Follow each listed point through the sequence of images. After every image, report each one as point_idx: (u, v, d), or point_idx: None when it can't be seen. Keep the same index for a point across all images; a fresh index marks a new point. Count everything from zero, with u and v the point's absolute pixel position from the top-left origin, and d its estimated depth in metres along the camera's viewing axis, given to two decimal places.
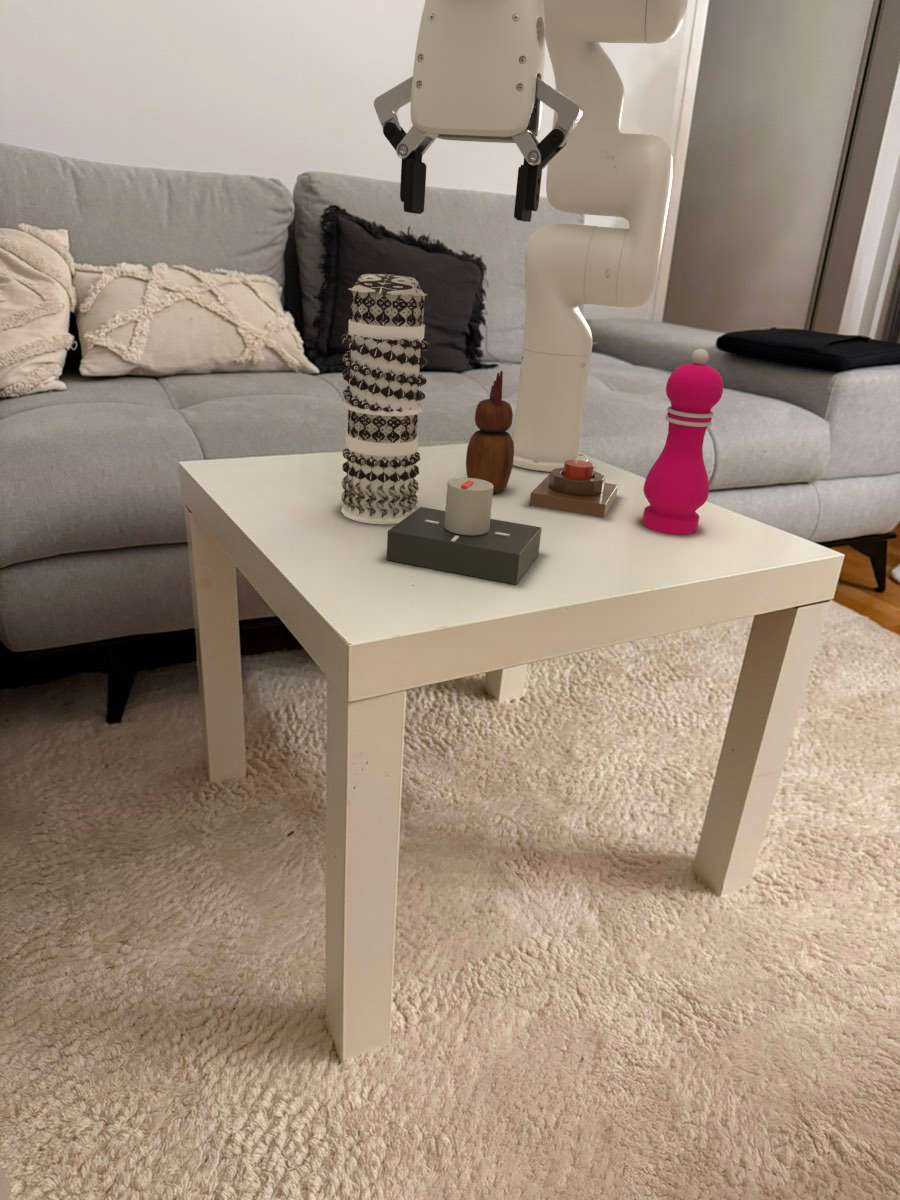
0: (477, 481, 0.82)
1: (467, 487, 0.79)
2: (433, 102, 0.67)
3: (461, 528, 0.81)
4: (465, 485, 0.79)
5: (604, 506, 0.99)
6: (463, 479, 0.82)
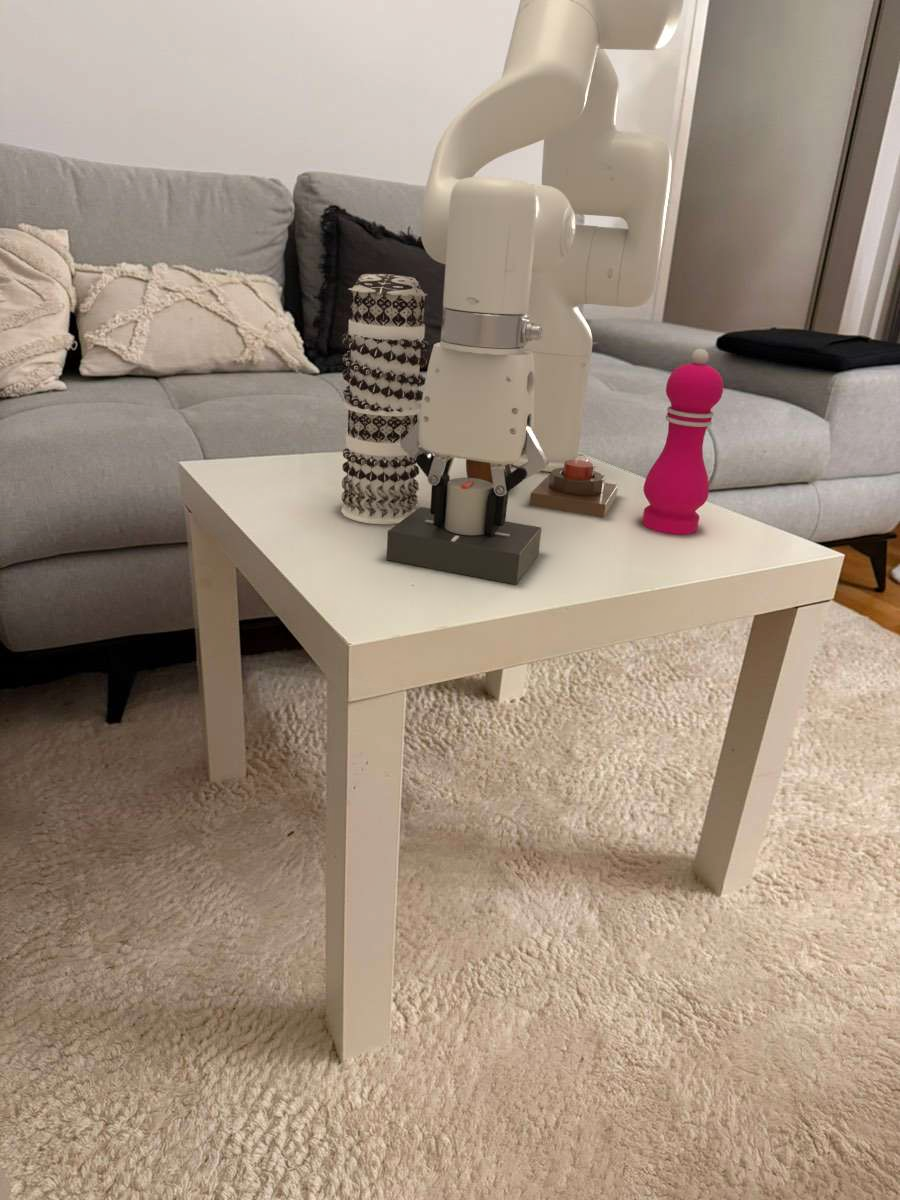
0: (477, 481, 0.82)
1: (467, 487, 0.79)
2: (438, 434, 0.78)
3: (461, 528, 0.81)
4: (465, 485, 0.79)
5: (604, 506, 0.99)
6: (463, 479, 0.82)
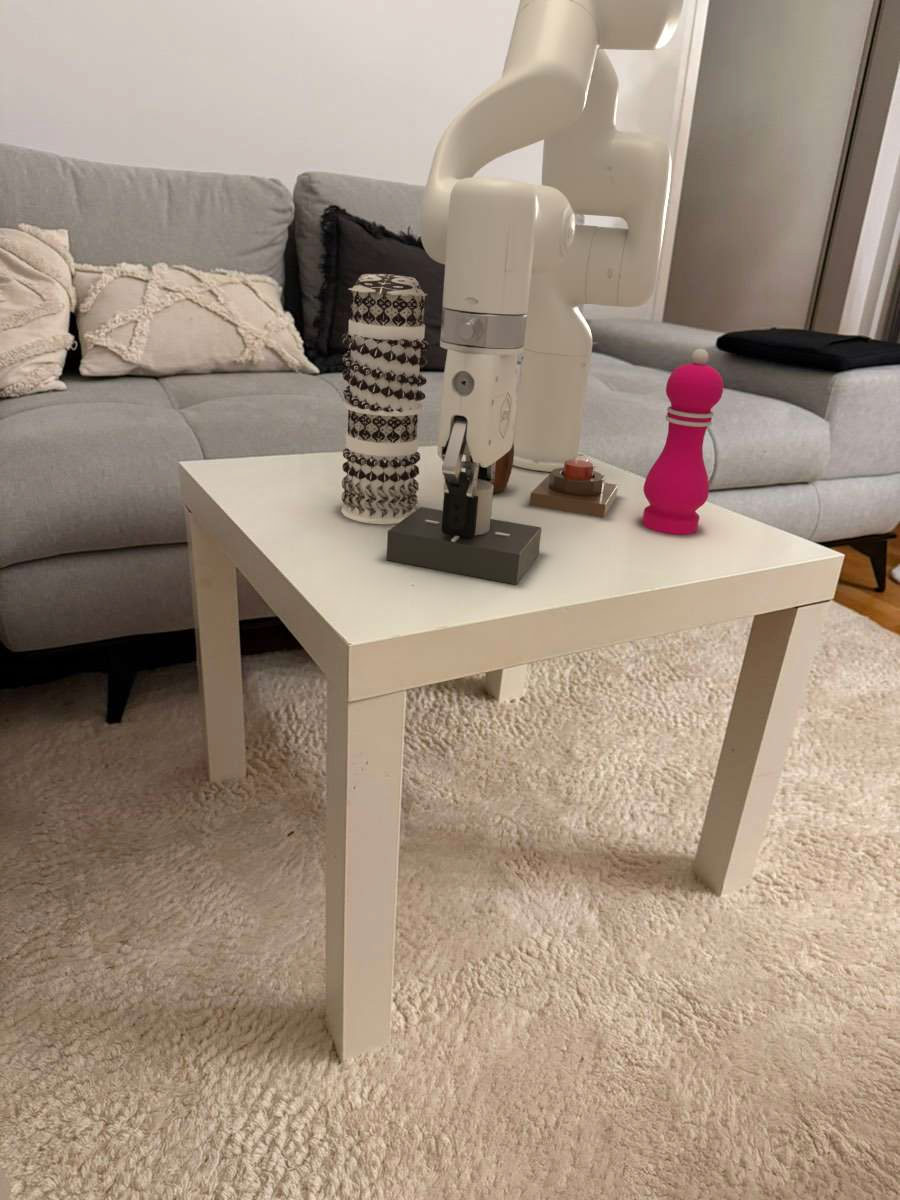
0: (480, 486, 0.81)
1: None
2: None
3: None
4: None
5: (604, 506, 0.99)
6: (484, 482, 0.82)
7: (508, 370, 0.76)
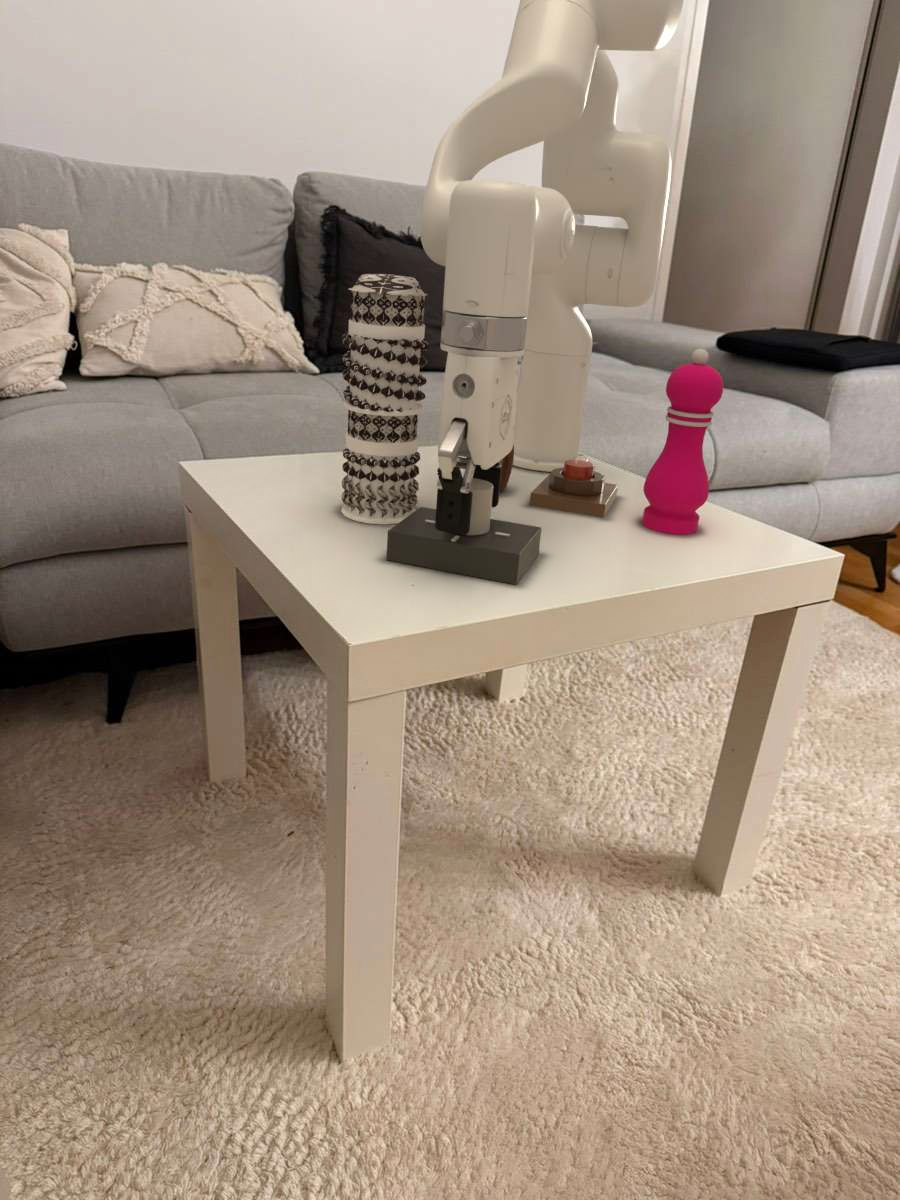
0: (480, 486, 0.81)
1: None
2: None
3: None
4: None
5: (604, 506, 0.99)
6: (484, 482, 0.82)
7: (508, 372, 0.76)
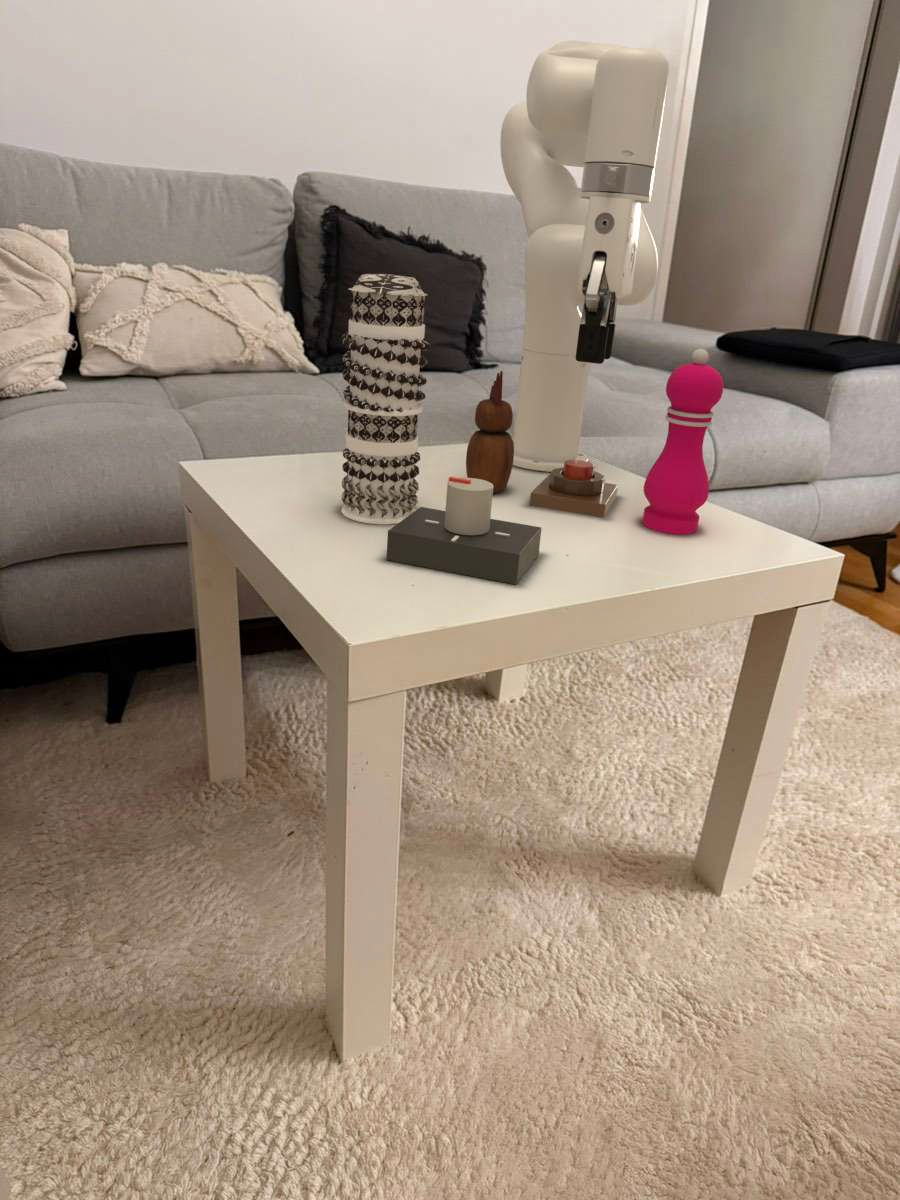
0: (480, 486, 0.81)
1: (451, 480, 0.81)
2: None
3: None
4: (451, 477, 0.82)
5: (604, 506, 0.99)
6: (484, 482, 0.82)
7: (637, 217, 0.92)
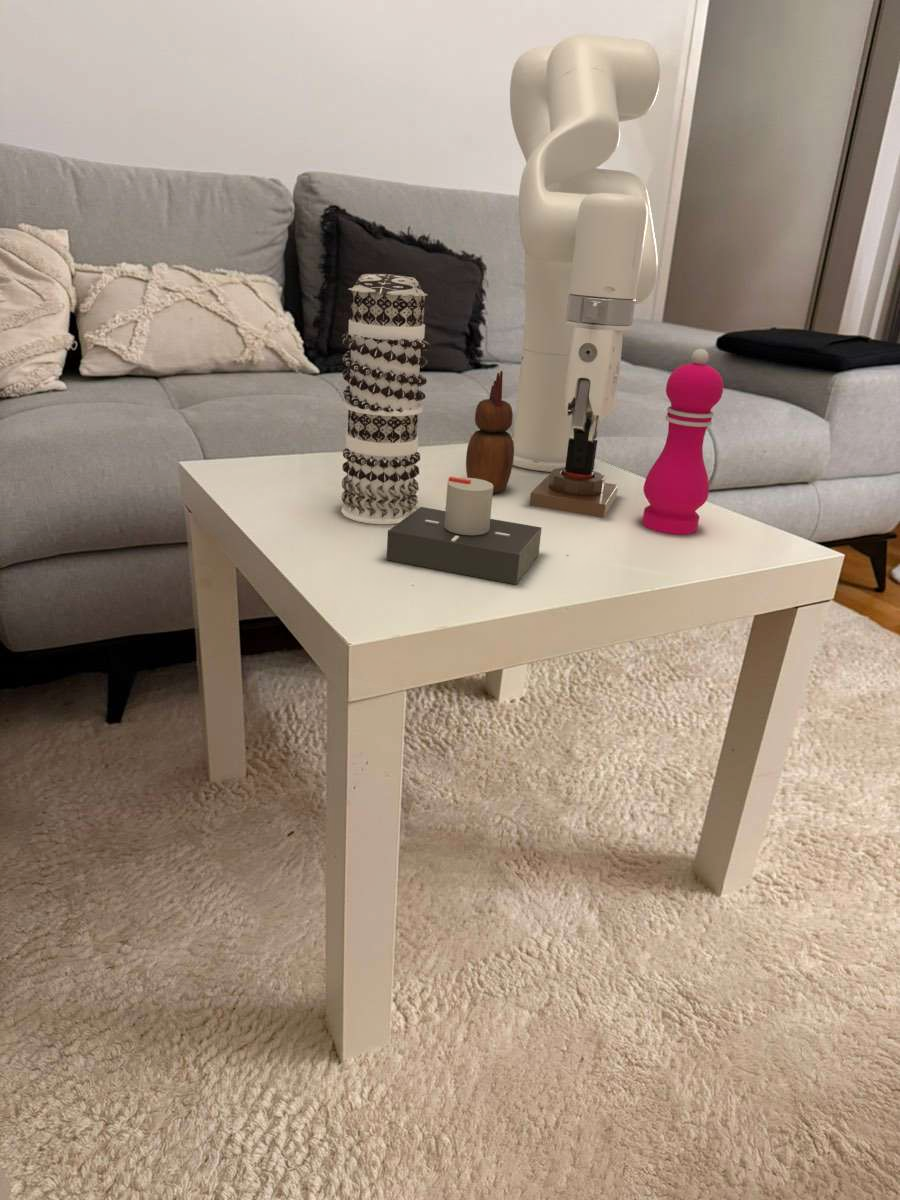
0: (480, 486, 0.81)
1: (451, 480, 0.81)
2: None
3: None
4: (451, 477, 0.82)
5: (604, 506, 0.99)
6: (484, 482, 0.82)
7: (619, 343, 0.97)
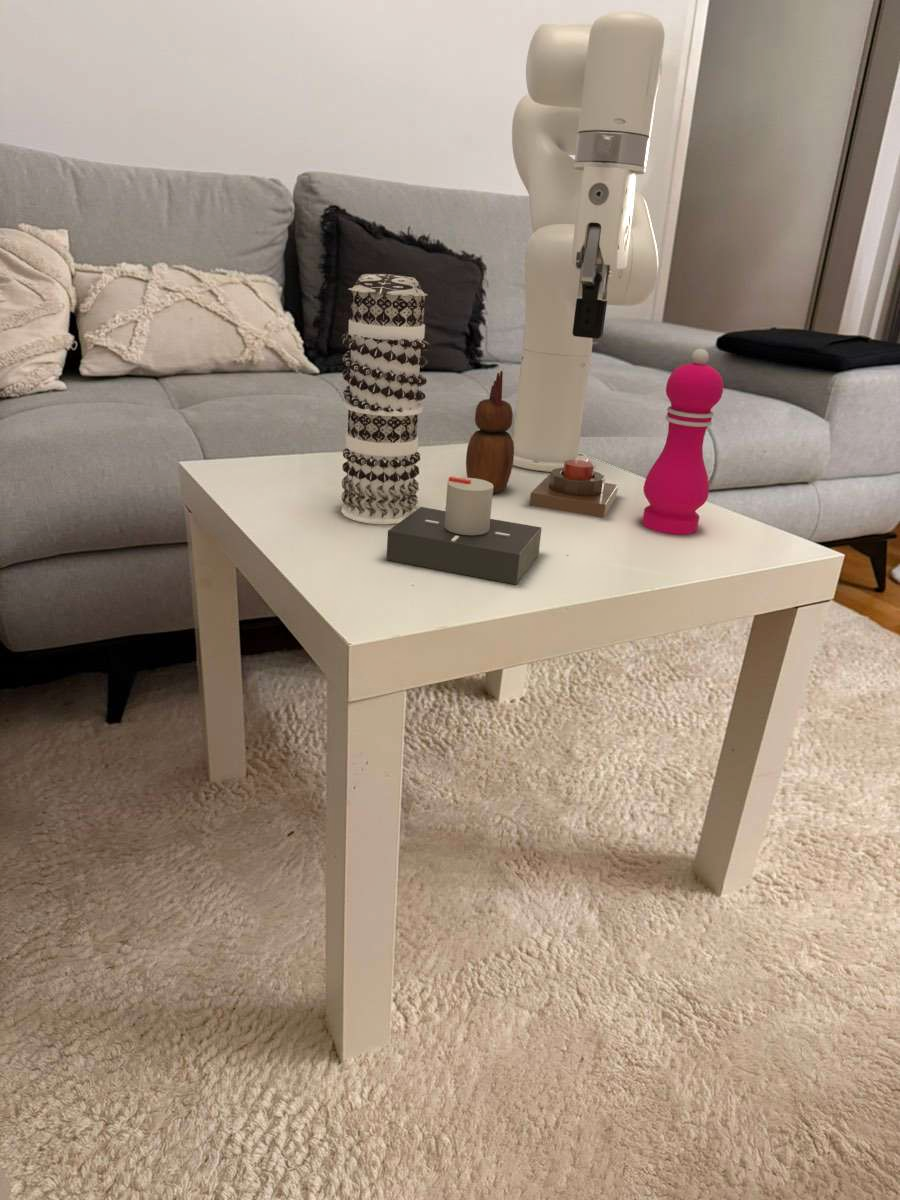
0: (480, 486, 0.81)
1: (451, 480, 0.81)
2: None
3: None
4: (451, 477, 0.82)
5: (604, 506, 0.99)
6: (484, 482, 0.82)
7: (632, 188, 0.90)
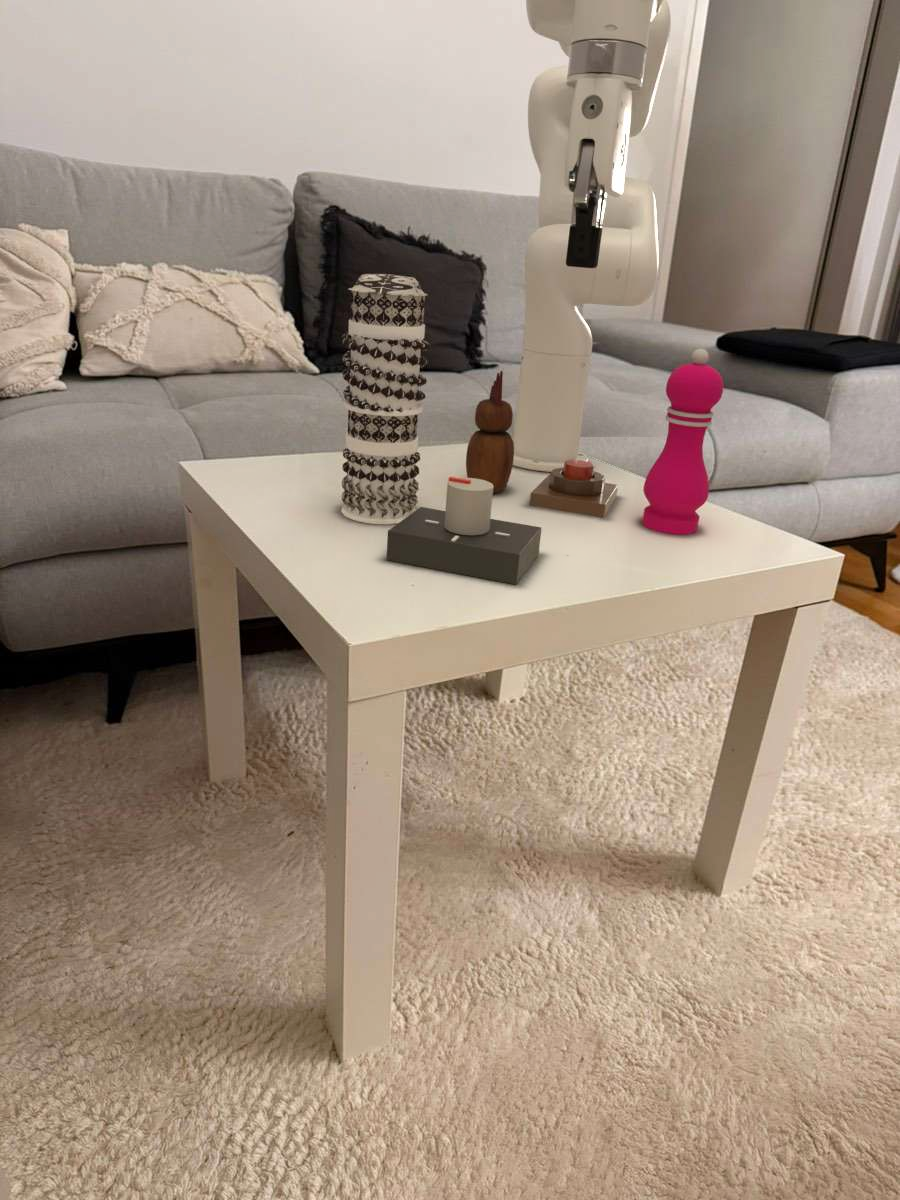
0: (480, 486, 0.81)
1: (451, 480, 0.81)
2: None
3: None
4: (451, 477, 0.82)
5: (604, 506, 0.99)
6: (484, 482, 0.82)
7: (628, 104, 0.85)
